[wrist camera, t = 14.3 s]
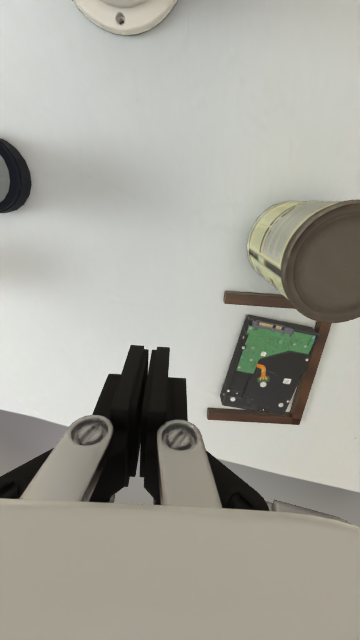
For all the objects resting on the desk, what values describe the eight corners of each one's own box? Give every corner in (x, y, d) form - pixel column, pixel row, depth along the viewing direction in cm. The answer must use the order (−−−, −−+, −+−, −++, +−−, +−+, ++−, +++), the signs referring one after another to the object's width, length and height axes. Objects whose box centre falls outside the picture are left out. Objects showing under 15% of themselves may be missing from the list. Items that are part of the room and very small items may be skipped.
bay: (224, 290, 39) (226, 293, 38) (334, 298, 39) (338, 301, 38) (206, 414, 47) (207, 419, 46) (296, 419, 48) (299, 425, 47)
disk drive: (278, 404, 47) (313, 325, 41) (284, 416, 44) (321, 334, 38) (218, 394, 46) (244, 313, 40) (221, 406, 43) (249, 321, 37)
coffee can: (342, 219, 35) (438, 230, 22) (299, 292, 39) (360, 338, 26) (270, 185, 34) (327, 177, 21) (232, 265, 37) (261, 300, 24)
